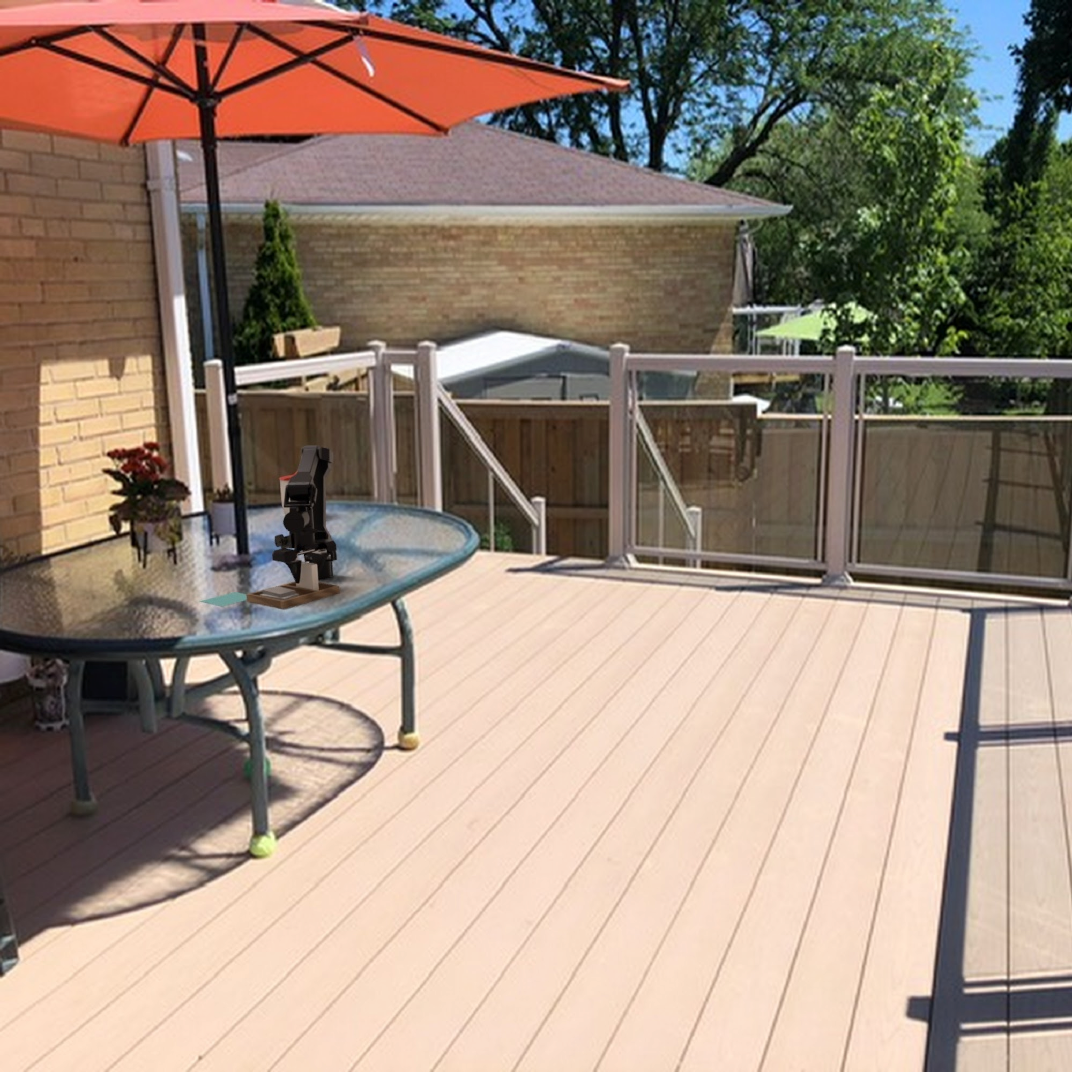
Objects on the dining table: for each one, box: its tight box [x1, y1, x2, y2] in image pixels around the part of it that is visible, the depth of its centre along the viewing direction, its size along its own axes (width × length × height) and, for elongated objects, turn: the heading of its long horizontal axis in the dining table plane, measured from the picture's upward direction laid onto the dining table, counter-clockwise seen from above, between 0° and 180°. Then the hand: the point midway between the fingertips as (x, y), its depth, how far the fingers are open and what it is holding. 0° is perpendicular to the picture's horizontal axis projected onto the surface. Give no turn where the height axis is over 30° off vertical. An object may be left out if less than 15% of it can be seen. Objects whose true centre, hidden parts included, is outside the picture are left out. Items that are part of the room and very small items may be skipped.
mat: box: [199, 591, 247, 607], centre depth 304 cm, size 12×10×1 cm
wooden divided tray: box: [245, 581, 341, 610], centre depth 304 cm, size 20×15×3 cm
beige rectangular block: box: [296, 561, 319, 591], centre depth 307 cm, size 2×7×8 cm, turn 53°
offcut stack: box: [260, 585, 299, 600], centre depth 299 cm, size 6×11×3 cm, turn 53°
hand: (307, 580), depth 307 cm, fingers open, 6 cm apart
